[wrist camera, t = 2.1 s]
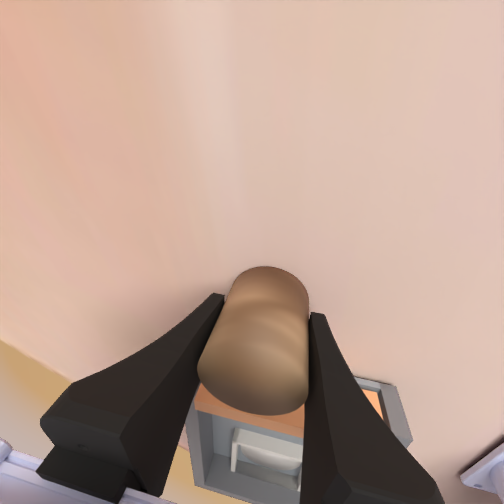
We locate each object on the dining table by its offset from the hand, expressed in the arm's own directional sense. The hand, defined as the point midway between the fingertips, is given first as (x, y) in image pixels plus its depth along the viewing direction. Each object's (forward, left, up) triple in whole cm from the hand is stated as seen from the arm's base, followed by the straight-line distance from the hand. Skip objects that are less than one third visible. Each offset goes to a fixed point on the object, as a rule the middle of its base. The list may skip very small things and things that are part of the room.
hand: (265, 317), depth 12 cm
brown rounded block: (0, 0, -1) cm, 1 cm away
